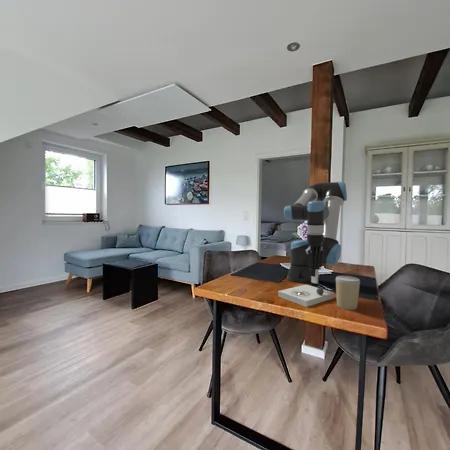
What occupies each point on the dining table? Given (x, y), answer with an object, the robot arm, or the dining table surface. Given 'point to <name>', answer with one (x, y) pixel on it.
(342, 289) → the coffee cup
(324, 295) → the board
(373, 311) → the dining table surface
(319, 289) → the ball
